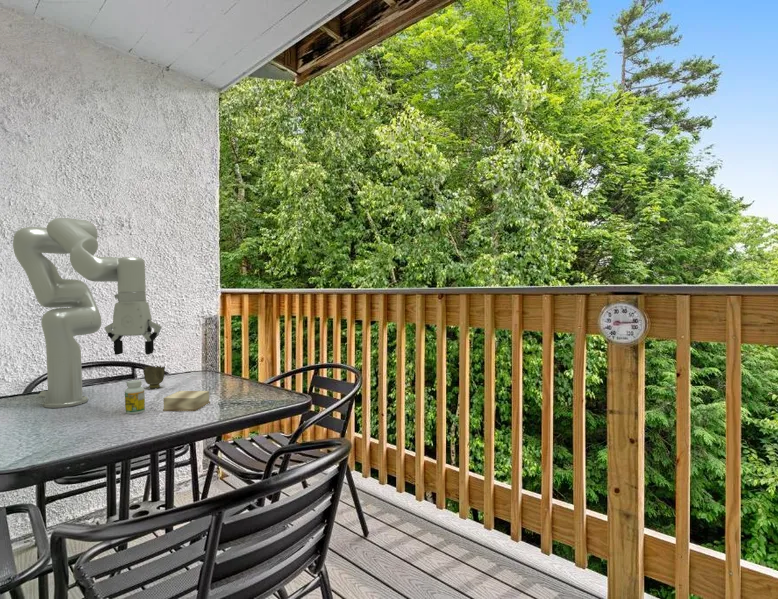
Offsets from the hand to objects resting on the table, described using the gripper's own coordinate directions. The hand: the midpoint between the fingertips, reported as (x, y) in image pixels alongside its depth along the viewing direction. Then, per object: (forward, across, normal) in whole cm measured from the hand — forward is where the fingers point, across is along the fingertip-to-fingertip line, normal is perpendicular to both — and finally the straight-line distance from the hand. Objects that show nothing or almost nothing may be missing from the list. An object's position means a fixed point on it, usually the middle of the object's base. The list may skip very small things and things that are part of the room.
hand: (133, 354), depth 152 cm
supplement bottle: (+18, 0, 0) cm, 18 cm away
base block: (+18, +13, +7) cm, 23 cm away
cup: (+18, -13, +34) cm, 41 cm away
